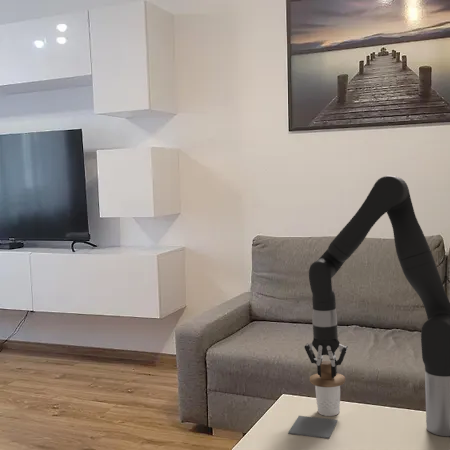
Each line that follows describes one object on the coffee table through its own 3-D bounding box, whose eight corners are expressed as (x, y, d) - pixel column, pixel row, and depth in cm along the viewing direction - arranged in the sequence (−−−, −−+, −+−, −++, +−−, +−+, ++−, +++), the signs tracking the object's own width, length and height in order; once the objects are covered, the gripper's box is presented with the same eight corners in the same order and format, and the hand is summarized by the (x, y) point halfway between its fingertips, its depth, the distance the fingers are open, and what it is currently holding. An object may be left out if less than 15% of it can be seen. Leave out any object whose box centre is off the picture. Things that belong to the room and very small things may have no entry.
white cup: (343, 416, 180) (342, 385, 179) (317, 417, 180) (316, 386, 179) (339, 406, 188) (337, 376, 187) (314, 407, 188) (313, 377, 187)
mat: (337, 421, 177) (337, 419, 177) (329, 438, 166) (329, 437, 166) (299, 416, 181) (298, 415, 181) (288, 433, 170) (288, 432, 170)
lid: (348, 376, 186) (347, 358, 185) (341, 388, 176) (340, 369, 175) (314, 373, 190) (313, 356, 189) (306, 385, 180) (305, 367, 179)
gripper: (349, 320, 182) (352, 374, 184) (305, 318, 187) (308, 371, 189) (345, 326, 175) (347, 382, 177) (299, 324, 180) (302, 379, 182)
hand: (327, 376), depth 183 cm, fingers closed on lid, 3 cm apart
